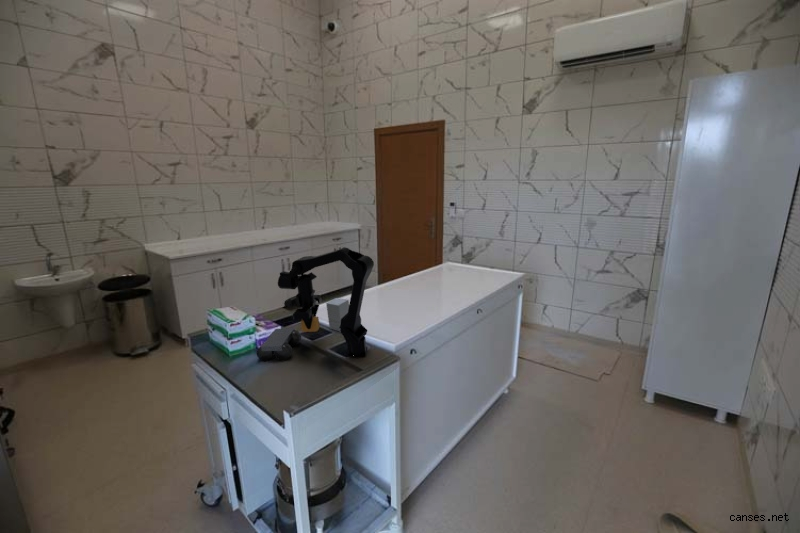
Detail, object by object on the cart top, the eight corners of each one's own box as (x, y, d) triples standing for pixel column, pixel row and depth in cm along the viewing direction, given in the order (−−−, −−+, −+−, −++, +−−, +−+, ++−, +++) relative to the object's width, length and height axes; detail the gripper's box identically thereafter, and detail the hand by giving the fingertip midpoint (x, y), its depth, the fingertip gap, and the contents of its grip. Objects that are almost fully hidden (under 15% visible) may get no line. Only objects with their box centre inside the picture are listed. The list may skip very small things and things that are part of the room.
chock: (319, 326, 148) (318, 316, 147) (317, 331, 144) (315, 320, 143) (305, 327, 148) (303, 317, 147) (302, 331, 144) (300, 321, 143)
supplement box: (352, 325, 167) (349, 299, 164) (341, 331, 161) (338, 305, 158) (339, 322, 171) (336, 297, 168) (328, 328, 165) (325, 302, 162)
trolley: (302, 342, 154) (300, 328, 152) (290, 361, 140) (287, 345, 138) (272, 343, 155) (269, 329, 153) (257, 361, 141) (254, 346, 139)
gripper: (293, 282, 151) (298, 317, 155) (276, 299, 133) (282, 338, 137) (319, 281, 150) (324, 316, 154) (306, 298, 132) (311, 337, 137)
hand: (310, 326), depth 146 cm, fingers closed on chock, 4 cm apart
